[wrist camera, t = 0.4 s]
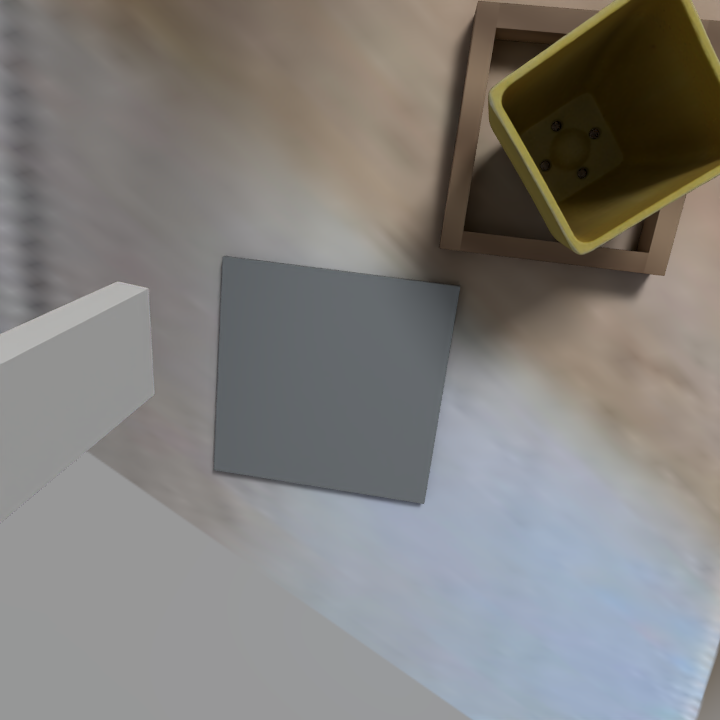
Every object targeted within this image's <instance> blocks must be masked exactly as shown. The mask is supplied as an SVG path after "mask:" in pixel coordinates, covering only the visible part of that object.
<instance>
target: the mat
mask: <svg viewBox="0 0 720 720" xmlns="http://www.w3.org/2000/svg"><path fill="white" fill-rule="evenodd" d="M459 292H460V286H457V285H449V284H441V283H433V282H426V281H418V280H410V279H402V278H394V277H386V276H378V275H371V274H363V273H355V272H347V271H339V270H331V269H323V268H315V267H308V266H300V265H292V264H284V263H276V262H268V261H260V260H253V259H245V258H237V257H229V256H224V257H223V262H222V286H221V310H220V334H219V358H218V381H217V405H216V429H215V453H214V470H217V471H223V472H229V473H236V474H242V475H248V476H254V477H260V478H267V479H273V480H279V481H285V482H291V483H298V484H304V485H310V486H316V487H322V488H328V489H335V490H341V491H347V492H353V493H359V494H366V495H372V496H378V497H384V498H390V499H397V500H403V501H409V502H415V503H421V504H424V502H425V496H426V490H427V484H428V478H429V472H430V466H431V460H432V454H433V448H434V442H435V436H436V430H437V424H438V418H439V412H440V406H441V400H442V394H443V388H444V382H445V376H446V370H447V364H448V358H449V352H450V346H451V340H452V334H453V328H454V322H455V316H456V310H457V304H458V298H459Z"/></svg>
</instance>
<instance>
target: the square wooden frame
mask: <svg viewBox="0 0 720 720" xmlns="http://www.w3.org/2000/svg"><path fill="white" fill-rule="evenodd" d="M598 12H599V11H594V10H582V9H570V8H558V7H545V6H533V5H521V4H509V3H497V2H485V1H478V4H477V8H476V11H475V16H474V23H473V29H472V36H471V43H470V49H469V56H468V62H467V69H466V75H465V82H464V88H463V95H462V102H461V108H460V115H459V121H458V128H457V134H456V141H455V148H454V154H453V161H452V167H451V174H450V180H449V187H448V194H447V200H446V207H445V213H444V220H443V226H442V233H441V239H440V246H439V248H440V249H448V250H456V251H464V252H472V253H481V254H489V255H497V256H505V257H514V258H522V259H530V260H538V261H546V262H555V263H563V264H571V265H579V266H587V267H596V268H604V269H612V270H620V271H628V272H637V273H645V274H653V275H661V276H664V275H665V271H666V268H667V264H668V260H669V257H670V253H671V249H672V246H673V242H674V238H675V235H676V231H677V227H678V223H679V220H680V216H681V212H682V209H683V205H684V201H685V198H686V195H684V196H682V197H681V198H679V199H677V200H676V201H674V202H672V203H670V204H669V205H667V206H665V207H664V208H662V209H661V210H659V211H657V212H655V213H654V214H652V215H650V216H649V217H647V218H645V220H644V224H643V228H642V232H641V236H640V240H639V244H638V248H637V252H636V251H627V250H619V249H610V248H602V247H598V248H596V249H595V250H593V251H591V252H589V253H587V254H584V255H579V254H576V253H575V252H573V251H572V250H570V249H569V248H567V247H566V246H564V245H563V244H561V243H560V242H551V241H543V240H534V239H526V238H518V237H509V236H501V235H492V234H484V233H475V232H467V231H463V228H464V222H465V216H466V210H467V204H468V198H469V192H470V185H471V179H472V173H473V167H474V161H475V155H476V149H477V142H478V136H479V130H480V124H481V118H482V112H483V106H484V100H485V93H486V87H487V81H488V75H489V69H490V63H491V57H492V51H493V44H494V39H498V40H509V41H521V42H532V43H543V44H554V43H555V42H556V41H558V40H559V39H561V38H562V37H564V36H565V35H567V34H568V33H569V32H571V31H572V30H574V29H575V28H577V27H578V26H579V25H581V24H582V23H584V22H585V21H587V20H588V19H589V18H591V17H592V16H594V15H595V14H596V13H598ZM700 20H701V22H702V24H703V27H704V29H705V31H706V34H707V36H708V38H709V40H710V43H711V45H712V47H713V49H714V51H715V53H716V56H717V58H718V60H719V62H720V21H714V20H702V19H700Z"/></svg>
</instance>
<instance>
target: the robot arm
mask: <svg viewBox="0 0 720 720" xmlns="http://www.w3.org/2000/svg"><path fill="white" fill-rule="evenodd" d="M154 394H155V392H154V374H153V356H152V338H151V320H150V302H149V288H145V287H141V286H136V285H132V284H127V283H123V282H119V281H117V282H115V283H113V284H110V285H108V286H106V287H104V288H101V289H99V290H97V291H95V292H93V293H90V294H88V295H86V296H84V297H81V298H79V299H77V300H75V301H73V302H70V303H68V304H66V305H64V306H61V307H59V308H57V309H55V310H53V311H50V312H48V313H46V314H44V315H41V316H39V317H37V318H35V319H33V320H30V321H28V322H26V323H24V324H21V325H19V326H17V327H15V328H13V329H10V330H8V331H6V332H4V333H2V334H0V523H1V522H2V521H4V520H5V519H6V518H7V517H8V516H10V515H11V514H12V513H13V512H14V511H16V510H17V509H18V508H19V507H20V506H22V505H23V504H24V503H25V502H26V501H28V500H29V499H30V498H31V497H32V496H34V495H35V494H36V493H37V492H38V491H40V490H41V489H42V488H43V487H44V486H46V485H47V484H48V483H49V482H50V481H51V480H53V479H54V478H55V477H56V476H58V475H59V474H60V473H61V472H62V471H64V470H65V468H67V467H68V466H69V465H71V464H72V463H73V462H74V461H75V460H77V459H78V458H79V457H80V456H81V455H82V454H84V453H85V452H86V451H87V450H89V449H90V448H91V447H92V446H93V445H95V444H96V443H97V442H98V441H99V440H101V439H102V438H103V437H104V436H105V435H107V434H108V433H109V432H110V431H111V430H113V429H114V428H115V427H116V426H117V425H119V424H120V423H121V422H122V421H123V420H125V419H126V418H127V417H128V416H129V415H131V414H132V413H133V412H134V411H135V410H137V409H138V408H139V407H140V406H141V405H143V404H144V403H145V402H146V401H147V400H148V399H150V398H151V397H152V396H153V395H154Z"/></svg>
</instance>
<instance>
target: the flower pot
mask: <svg viewBox="0 0 720 720" xmlns="http://www.w3.org/2000/svg"><path fill="white" fill-rule="evenodd" d="M488 109H489V122H490V125H491V128H492V130H493V132H494V134H495V135H496V137H497V139H498V140H499V142H500V144H501V145H502V147H503V149H504V150H505V152H506V154H507V156H508V157H509V159H510V161H511V162H512V164H513V166H514V168H515V169H516V171H517V173H518V174H519V176H520V178H521V180H522V181H523V183H524V185H525V187H526V189H527V190H528V192H529V194H530V196H531V198H532V199H533V201H534V203H535V205H536V207H537V209H538V210H539V212H540V214H541V216H542V218H543V220H544V222H545V223H546V225H547V227H548V229H549V231H550V232H551V234H552V235H553V237H554V238H555V239H556V240H558V241H559V242H560V243H561V244H563V245H564V246H566V247H567V248H569V249H570V250H572V251H573V252H575V253H576V254H579V255H584V254H587V253H589V252H591V251H593V250H595V249H596V248H598V247H599V246H601V245H603V244H605V243H606V242H608V241H610V240H611V239H613V238H615V237H616V236H618V235H619V234H621V233H622V232H624V231H626V230H627V229H629V228H631V227H632V226H634V225H636V224H637V223H639V222H641V221H642V220H644V219H645V218H647V217H649V216H650V215H652V214H654V213H655V212H657V211H659V210H661V209H662V208H664V207H665V206H667V205H669V204H670V203H672V202H674V201H676V200H677V199H679V198H681V197H682V196H684V195H686V194H687V193H689V192H691V191H692V190H694V189H696V188H697V187H699V186H701V185H703V184H704V183H706V182H708V181H710V180H711V179H713V178H715V177H717V176H718V175H720V62H719V60H718V58H717V56H716V53H715V51H714V49H713V47H712V45H711V43H710V40H709V38H708V36H707V34H706V31H705V29H704V27H703V24H702V22H701V20H700V18H699V16H698V13H697V11H696V9H695V6H694V5H693V3H692V0H614V1H613V2H612V3H610V4H609V5H608V6H606V7H605V8H603V9H602V10H601V11H599V12H598V13H596V14H595V15H594V16H592V17H591V18H589V19H588V20H587V21H585V22H584V23H582V24H581V25H579V26H578V27H577V28H575V29H574V30H572V31H571V32H569V33H568V34H567V35H565V36H564V37H562V38H561V39H559V40H558V41H556V42H555V43H554V44H552V45H551V46H550V47H548V48H547V49H546V50H544V51H543V52H541V53H540V54H538V55H537V56H536V57H534V58H533V59H531V60H530V61H528V62H527V63H525V64H524V65H523V66H521V67H520V68H518V69H517V70H515V71H514V72H513V73H511V74H510V75H508V76H507V77H505V78H504V79H503V80H501V81H500V82H499V83H497V84H496V85H495V86H494V87H492V89H491V90H490V91H489V94H488ZM555 121H559V122H560V123H561V128H560V130H559V131H554V130H552V127H551V126H552V124H553V123H554V122H555ZM592 129H597V130H598V131H599V136H598V137H597V138H595V139H592V138H591V137H590V135H589V133H590V131H591V130H592ZM543 161H548V162H549V163H550V166H549V168H548V170H542V169H541V167H540V165H541V163H542V162H543ZM582 168H584V169H586V171H587V175H586V176H585V177H584V178H579V177H578V171H579V169H582Z"/></svg>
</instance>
